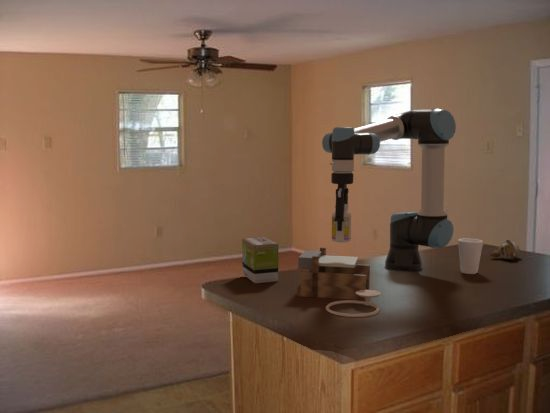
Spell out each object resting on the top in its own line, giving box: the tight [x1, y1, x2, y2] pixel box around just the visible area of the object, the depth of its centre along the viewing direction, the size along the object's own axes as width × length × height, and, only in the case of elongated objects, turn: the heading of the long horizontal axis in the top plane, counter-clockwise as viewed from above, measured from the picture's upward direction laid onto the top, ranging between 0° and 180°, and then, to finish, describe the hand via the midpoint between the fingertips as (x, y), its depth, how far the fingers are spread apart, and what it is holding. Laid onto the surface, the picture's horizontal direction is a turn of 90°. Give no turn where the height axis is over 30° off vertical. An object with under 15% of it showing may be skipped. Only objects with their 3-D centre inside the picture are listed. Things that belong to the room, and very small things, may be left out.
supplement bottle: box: [331, 203, 352, 243], centre depth 219 cm, size 7×7×13 cm
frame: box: [296, 247, 371, 301], centre depth 221 cm, size 23×18×14 cm
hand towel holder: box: [325, 289, 381, 318], centre depth 201 cm, size 17×4×20 cm
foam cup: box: [457, 238, 484, 275], centre depth 254 cm, size 10×9×13 cm
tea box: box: [241, 236, 279, 284], centre depth 241 cm, size 15×10×15 cm
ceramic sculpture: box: [489, 239, 521, 260], centre depth 283 cm, size 11×9×15 cm
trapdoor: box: [297, 250, 359, 270], centre depth 221 cm, size 19×15×4 cm
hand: (341, 238), depth 220 cm, fingers closed on supplement bottle, 7 cm apart
